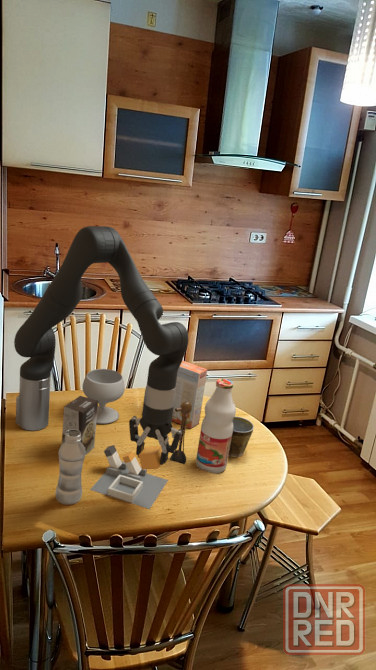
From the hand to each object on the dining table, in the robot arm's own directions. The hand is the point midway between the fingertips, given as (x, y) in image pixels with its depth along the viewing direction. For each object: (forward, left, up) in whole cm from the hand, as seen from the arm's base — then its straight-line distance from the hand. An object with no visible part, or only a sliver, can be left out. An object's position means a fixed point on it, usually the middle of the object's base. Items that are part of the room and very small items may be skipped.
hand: (151, 459), depth 133 cm
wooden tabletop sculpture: (+1, +22, -13) cm, 26 cm away
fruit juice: (+11, +25, -13) cm, 31 cm away
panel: (-6, +3, -13) cm, 15 cm away
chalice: (-31, +35, -13) cm, 49 cm away
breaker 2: (-6, +7, -11) cm, 14 cm away
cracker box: (-7, +47, -13) cm, 50 cm away
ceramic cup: (+14, +37, -13) cm, 42 cm away
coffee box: (-27, +12, -13) cm, 33 cm away
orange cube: (+1, 0, -1) cm, 1 cm away
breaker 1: (-12, +7, -11) cm, 18 cm away
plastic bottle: (-18, -9, -13) cm, 24 cm away
